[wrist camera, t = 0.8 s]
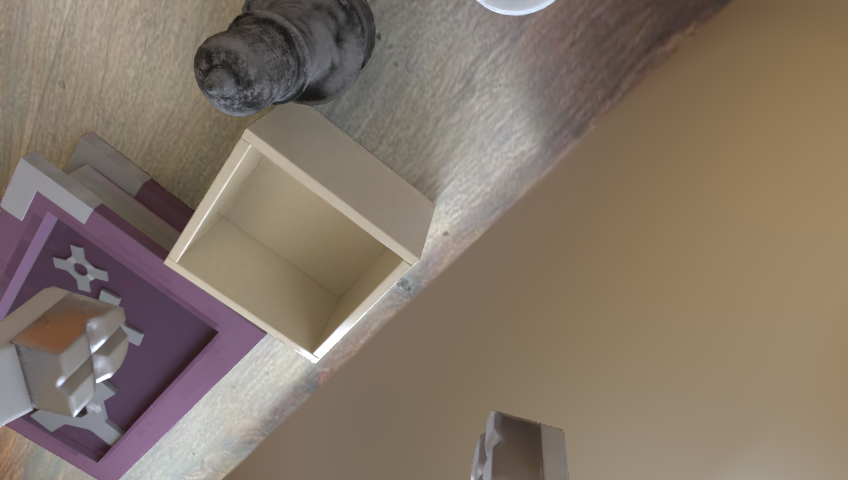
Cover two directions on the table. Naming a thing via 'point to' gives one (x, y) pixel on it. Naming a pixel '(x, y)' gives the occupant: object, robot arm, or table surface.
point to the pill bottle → (515, 6)
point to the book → (115, 300)
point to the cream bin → (302, 230)
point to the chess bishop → (285, 54)
